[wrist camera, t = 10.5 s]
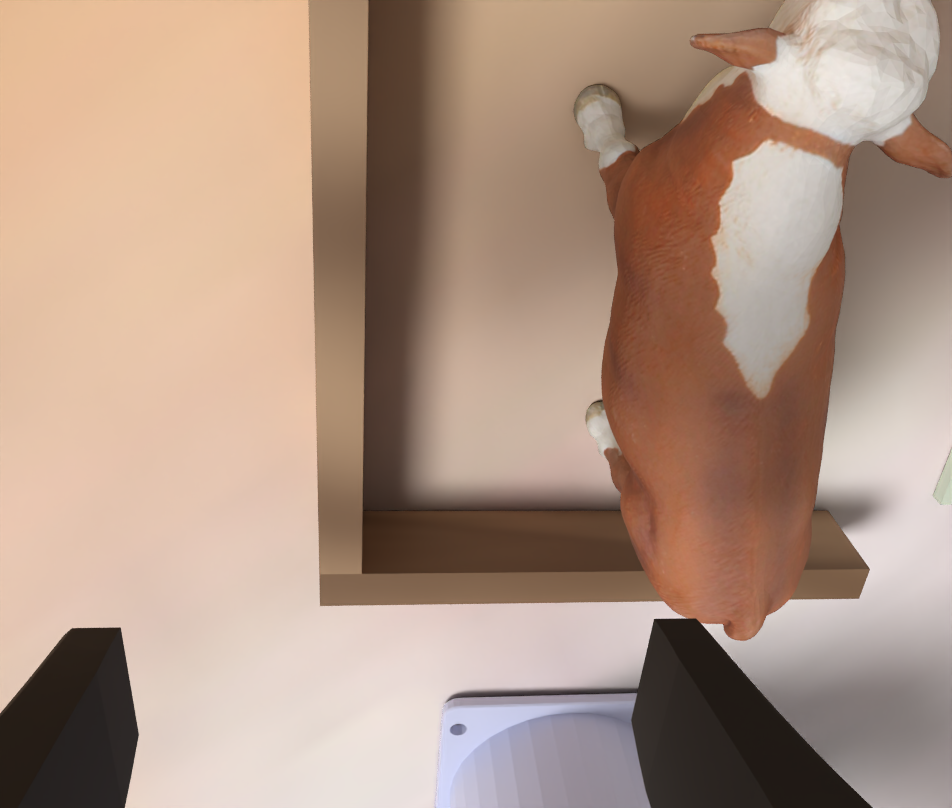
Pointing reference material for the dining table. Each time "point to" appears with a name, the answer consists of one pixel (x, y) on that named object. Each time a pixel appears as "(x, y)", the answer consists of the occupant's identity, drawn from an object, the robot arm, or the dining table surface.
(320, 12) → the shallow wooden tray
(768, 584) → the bull figurine
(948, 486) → the felt pad
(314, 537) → the dining table surface
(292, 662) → the dining table surface
